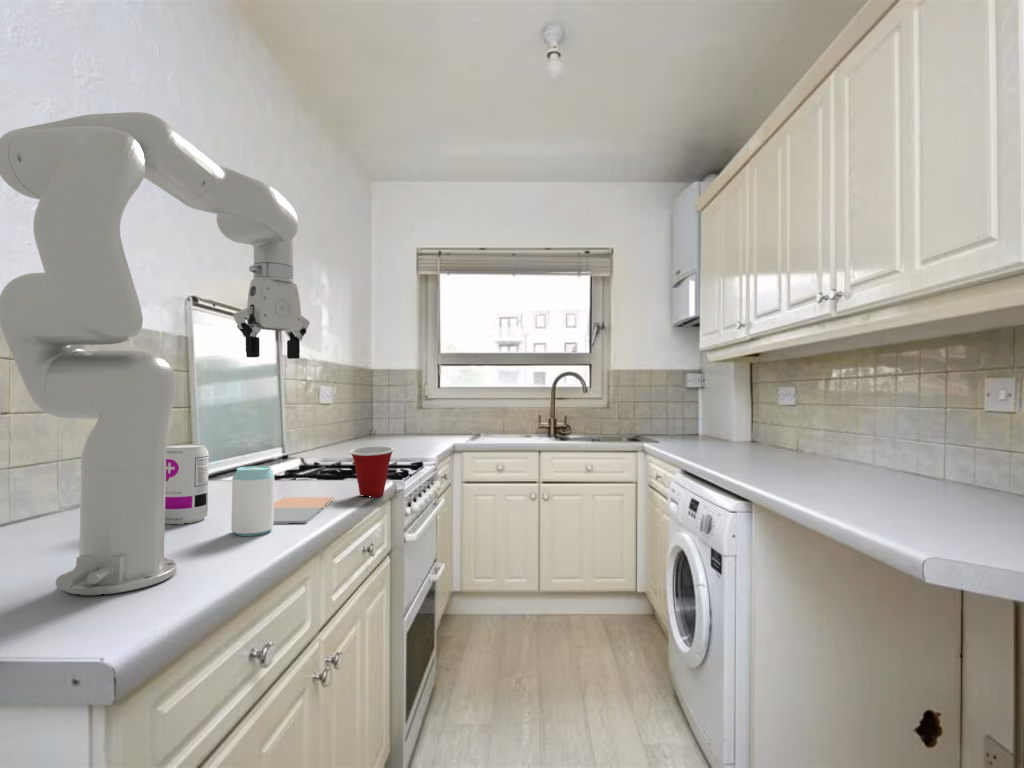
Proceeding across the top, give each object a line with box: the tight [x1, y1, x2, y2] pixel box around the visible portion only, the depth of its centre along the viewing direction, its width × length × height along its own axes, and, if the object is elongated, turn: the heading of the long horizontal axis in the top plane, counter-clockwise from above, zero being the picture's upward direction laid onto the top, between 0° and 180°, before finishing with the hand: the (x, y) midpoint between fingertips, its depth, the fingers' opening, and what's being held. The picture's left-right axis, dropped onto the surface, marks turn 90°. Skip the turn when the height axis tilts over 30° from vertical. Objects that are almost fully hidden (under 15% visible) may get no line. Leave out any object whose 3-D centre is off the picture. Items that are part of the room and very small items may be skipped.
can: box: [230, 465, 275, 537], centre depth 99 cm, size 7×7×12 cm
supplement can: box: [165, 443, 210, 525], centre depth 108 cm, size 8×8×15 cm
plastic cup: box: [349, 445, 394, 498], centre depth 136 cm, size 11×11×12 cm
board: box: [273, 496, 335, 525], centre depth 117 cm, size 24×12×1 cm, turn 6°
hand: (273, 357), depth 111 cm, fingers open, 9 cm apart
